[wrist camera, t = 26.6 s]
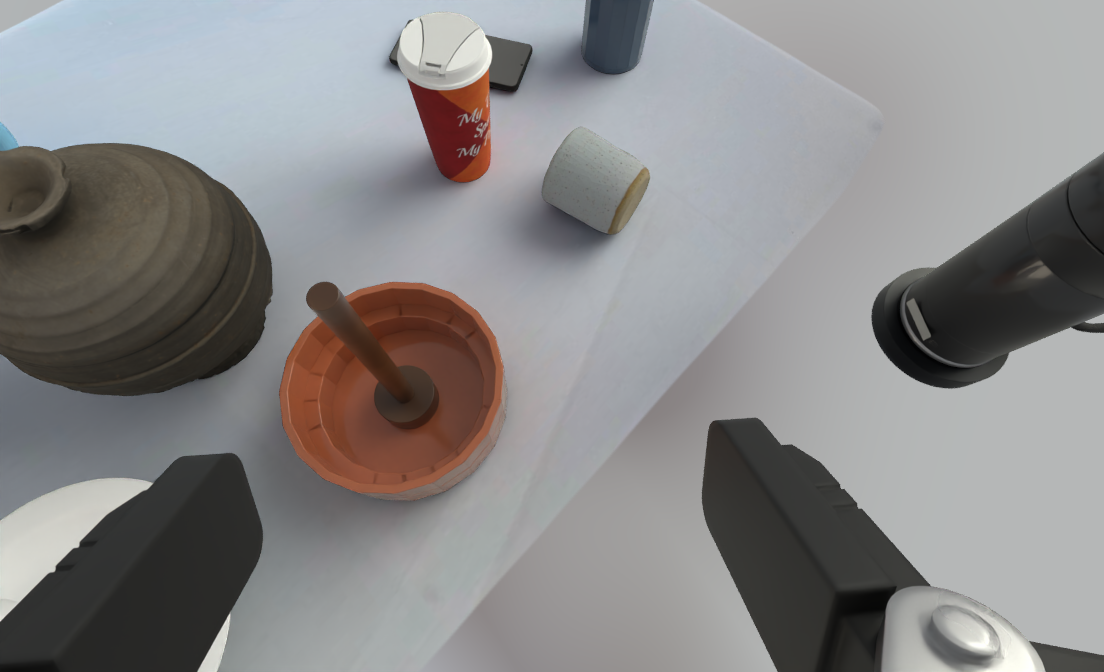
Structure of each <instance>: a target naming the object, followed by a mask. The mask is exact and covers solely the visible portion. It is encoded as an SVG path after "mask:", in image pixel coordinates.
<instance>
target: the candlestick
mask: <svg viewBox="0 0 1104 672" xmlns="http://www.w3.org/2000/svg"><path fill="white" fill-rule="evenodd" d="M152 484H153V483H151V482H148V481H143V480H138V479H130V478H103V479H95V480H89V481H84V482H79V483H75V484H72V485H68V486H65V487H62V488H59V489H57V490H54V491H52V492H49V493H47V494H44V495H42V496H40V497H38V498H36V499H34V500H32V501H30V502H28V503H27V504H25V505H23V506H21V507H20V508H18V509H17V510H15V511H13V512H12V513H10V514H9V515H7V516H6V517H5V518H3V519H2V520H0V621H1V620H2V619H3V618H4V617H5V616H6V615H7V614H8V613H9V612H10V611H11V610H12V609H13V608H14V607H15V606H16V605H17V604H18V603H19V602H20V601H21V600H22V599H23V598H24V597H25V596H26V595H27V594H28V593H29V592H30V591H31V590H32V589H33V588H34V587H35V586H36V585H37V584H38V583H39V582H40V581H41V580H42V579H43V578H44V577H45V576H46V575H47V574H48V573H50V572H54V571H55V569H56V567H55V566H56V565H57V564H58V563H59V562H60V561H61V560H62V559H63V558H64V557H65V556H66V555H67V554H68V553H69V552H70V551H71V550H72V549H73V548H78V547H79V542H80V541H81V540H82V539H83V538H84V537H85V536H86V535H87V534H88V533H89V532H90V531H91V530H92V529H93V528H94V527H95V526H96V525H97V524H98V523H99V522H100V521H101V520H102V519H103V518H104V517H105V516H106V515H107V514H108V513H110V512H111V511H113V510H114V509H116V508H117V507H119V506H121V505H122V504H124V503H125V502H127V501H128V500H130V499H131V498H133V497H134V496H136V495H137V494H139V493H140V492H142V491H143V490H147V489H148V488H149V487H150V486H151V485H152ZM230 616H231V612H230V614H229V615H228V617H227V619H226V621H225V623H224V624H223V626H222V628H221V630H220V632H219V633H218V635H217V637H216V639H215V641H214V642H213V644H212V646H211V648H210V650H209V651H208V653H207V655H206V657H205V659H204V661H203V662H202V664H201V666H200V668H199V670H198V671H197V672H217V670H218V668H219V665H220V662H221V659H222V656H223V652H224V649H225V645H226V641H227V636H228V631H229V624H230Z"/></svg>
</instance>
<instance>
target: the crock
mask: <svg viewBox="0 0 1104 672" xmlns="http://www.w3.org/2000/svg"><path fill="white" fill-rule="evenodd" d="M653 2H654V0H586V5H585V16H584V26H583V36H582V46H581V52H582V56H583V58H584V60H585V61H586V63H587V64H588V65H589V66H591V67H592V68H594V69H595V70H597V71H600V72H603V73H608V74H619V73H624V72H627V71H629V70H631V69H632V68H634V67H635V66H636V65H637V64H638V63H639V61H640V58H641V55H642V52H643V47H644V43H645V38H646V34H647V29H648V25H649V20H650V16H651V11H652V6H653Z"/></svg>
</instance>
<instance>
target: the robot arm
mask: <svg viewBox="0 0 1104 672" xmlns="http://www.w3.org/2000/svg"><path fill="white" fill-rule="evenodd" d="M1102 314H1104V153H1102V154H1101V155H1100V156H1098V157H1097V158H1096V159H1094V160H1092V161H1091V162H1089V163H1088V164H1086V165H1085V166H1084V167H1082V168H1081V169H1079V170H1078V171H1077V172H1075V173H1074V174H1072V175H1071V176H1069V177H1068V178H1066V179H1065V180H1064V181H1062V182H1061V183H1059V184H1058V185H1056V186H1055V187H1053V188H1052V189H1051V190H1049V191H1048V192H1046V193H1045V194H1043V195H1042V196H1041V197H1039V198H1038V199H1036V200H1035V201H1033V202H1032V203H1031V204H1029V205H1028V206H1026V207H1025V208H1023V209H1022V210H1020V211H1019V212H1018V213H1016V214H1015V215H1013V216H1012V217H1011V218H1009V219H1007V220H1006V221H1005V222H1003V223H1002V224H1000V225H999V226H997V227H996V228H994V229H993V230H991V231H990V232H988V233H987V234H986V235H984V236H983V237H981V238H980V239H978V240H977V241H975V242H974V243H973V244H971V245H970V246H968V247H967V248H965V249H964V250H962V251H961V252H959V253H958V254H957V255H955V256H954V257H952V258H951V259H949V260H948V261H946V262H945V263H943V264H942V265H940V266H939V267H937V268H936V269H934V270H933V271H932V272H930V273H929V274H927V275H926V276H924V277H922V278H920V279H918V280H917V281H915V282H914V283H912V284H911V285H910V286H908V287H907V288H906V289H905V290H904V292H903V293H902V295H901V296H900V299H899V302H898V319H899V323H900V326H901V328H902V331H903V332H904V334H905V336H906V338H907V339H908V340H909V342H910V343H911V344H912V345H913V346H914V347H915V348H916V349H917V350H918V351H919V352H920V353H921V354H922V355H924V356H925V357H927V358H928V359H930V360H932V361H933V362H935V363H938V364H940V365H943V366H946V367H950V368H955V369H969V368H974V367H977V366H980V365H982V364H985V363H987V362H989V361H991V360H992V359H994V358H996V357H999V356H1001V355H1004V354H1006V353H1008V352H1011V351H1014V350H1016V349H1019V348H1021V347H1024V346H1026V345H1028V344H1031V343H1033V342H1036V341H1038V340H1041V339H1043V338H1046V337H1048V336H1050V335H1053V334H1055V333H1058V332H1060V331H1063V330H1065V329H1068V328H1070V327H1071V328H1073V329H1075V330H1078V331H1082V332H1090V333H1104V323H1098V324H1092V323H1086V322H1085V321H1087V320H1089V319H1092V318H1094V317H1097V316H1099V315H1102ZM702 504H703V510H704V516H705V520H706V523H707V526H708V528H709V531H710V533H711V535H712V537H713V539H714V541H715V543H716V545H717V547H718V549H719V551H720V553H721V556H722V557H723V560H724V562H725V564H726V566H727V568H728V570H729V572H730V574H731V576H732V578H733V580H734V582H735V584H736V587H737V588H738V591H739V592H740V594H741V597H742V599H743V601H744V603H745V605H746V607H747V609H748V611H749V613H750V616H751V618H752V619H753V622H754V624H755V626H756V628H757V630H758V632H759V634H760V636H761V638H762V640H763V642H764V644H765V646H766V649H767V651H768V652H769V654H770V657H771V659H772V661H773V663H774V665H775V667H776V669H777V671H778V672H1104V655H1098V654H1093V653H1088V652H1083V651H1078V650H1072V649H1067V648H1061V647H1057V646H1051V645H1046V644H1041V643H1036V642H1031V641H1028V640H1027V639H1026V638H1025V637H1024V636H1023V635H1022V634H1021V632H1020V631H1019V630H1018V629H1016V628H1015V627H1014V626H1013V625H1012V624H1011V623H1010V622H1008V621H1007V620H1006V619H1004V618H1003V617H1002V616H1000V615H999V614H997V613H996V612H994V611H993V610H991V609H990V608H988V607H986V606H985V605H983V604H981V603H979V602H977V601H975V600H973V599H971V598H969V597H967V596H964V595H962V594H959V593H956V592H953V591H950V590H947V589H942V588H937V587H931V586H930V584H929V583H928V582H927V581H926V580H925V579H924V578H923V577H922V575H920V573H919V572H918V571H917V570H916V569H915V568H914V567H913V565H912V564H911V563H910V562H909V561H908V560H907V559H906V558H905V557H904V555H903V554H902V553H901V552H900V551H899V550H898V549H897V548H896V546H895V545H894V544H893V543H892V542H891V541H890V540H889V539H888V537H887V536H886V535H885V534H884V533H883V532H882V531H881V530H880V529H879V527H877V525H876V524H875V523H874V522H873V521H872V520H871V518H870V517H869V516H868V515H867V514H866V513H865V512H864V511H863V510H862V509H858V507H857V503H856V502H855V501H854V500H853V498H852V497H851V496H850V495H849V494H848V493H847V492H846V491H845V489H841V488H840V484H839V483H838V482H837V480H836V479H835V478H834V477H833V476H832V475H831V474H830V473H829V472H828V471H827V469H826V468H825V467H824V466H823V465H822V464H821V463H820V462H819V461H817V460H816V459H814V458H812V457H811V456H809V455H808V454H806V453H805V452H803V451H801V450H800V449H798V448H797V447H795V446H793V445H781V444H780V443H779V442H778V441H777V439H776V438H775V437H774V436H773V435H772V433H771V432H770V431H769V430H768V429H767V427H766V426H765V425H764V424H763V422H762V421H761V420H759V419H758V418H746V419H731V420H716V421H713V422H712V423H711V424H710V426H709V431H708V438H707V448H706V458H705V467H704V477H703V488H702ZM262 543H263V530H262V524H261V521H260V518H259V515H258V512H257V508H256V505H255V502H254V499H253V496H252V493H251V490H250V487H249V483H248V480H247V477H246V474H245V471H244V468H243V465H242V462H241V460H240V459H239V458H238V456H236V455H235V454H233V453H224V454H210V455H195V456H183V457H180V458H178V459H176V460H175V461H174V462H173V463H172V464H171V465H170V466H169V467H168V468H167V469H166V470H165V471H164V473H163V474H162V475H161V476H160V477H159V478H158V479H157V480H156V481H155V482H154V483H153V484H152V485H151V486H150V487H149V488H148V489H147V490H143V491H142V492H140V493H139V494H137V495H136V496H134V497H133V498H131V499H130V500H128V501H127V502H125V503H124V504H122V505H121V506H119V507H117V508H116V509H114V510H113V511H111V512H110V513H108V514H107V515H106V516H105V517H104V518H103V519H102V520H101V521H100V522H99V523H98V524H97V525H96V526H95V527H94V528H93V529H92V530H91V531H90V532H89V533H88V534H87V535H86V536H85V537H84V538H83V539H82V540H81V541H80V542H79V547H78V548H73V549H72V550H71V551H70V552H69V553H68V554H67V555H66V556H65V557H64V558H63V559H62V560H61V561H60V562H59V563H58V564H57V565H56V566H55V567H56V569H55V571H54V572H50V573H48V574H47V575H46V576H45V577H44V578H43V579H42V580H41V581H40V582H39V583H38V584H37V585H36V586H35V587H34V588H33V589H32V590H31V591H30V592H29V593H28V594H27V595H26V596H25V597H24V598H23V599H22V600H21V601H20V602H19V603H18V604H17V605H16V606H15V607H14V608H13V609H12V610H11V611H10V612H9V613H8V614H7V615H6V616H5V617H4V618H3V619H2V620H1V621H0V672H197V671H198V670H199V668H200V666H201V664H202V662H203V661H204V659H205V657H206V655H207V653H208V651H209V650H210V648H211V646H212V644H213V642H214V641H215V639H216V637H217V635H218V633H219V632H220V630H221V628H222V626H223V624H224V623H225V621H226V619H227V617H228V615H229V614H230V612H231V610H232V608H233V606H234V605H235V603H236V601H237V599H238V597H239V596H240V594H241V592H242V590H243V588H244V587H245V585H246V583H247V581H248V579H249V578H250V576H251V574H252V572H253V570H254V569H255V567H256V565H257V563H258V560H259V557H260V554H261V550H262Z"/></svg>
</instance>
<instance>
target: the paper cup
mask: <svg viewBox="0 0 1104 672" xmlns="http://www.w3.org/2000/svg"><path fill="white" fill-rule="evenodd" d="M491 60H492V49H491V45H490V43H489V41H488V40H487V38H486V37H485V35H484V33H483V30H482V29H481V28H480V27H479V26H478V25H477V24H476V23H475V22H474V21H472V20H471V19H470V18H468V17H466V16H464V15H461V14H457V13H452V12H434V13H430V14H426V15H423V16H420V19H419V17H418V18H416V19H414V20H413V21H411V22H410V23H409V24H408V25H407V26H406V27H405V29H404V30H403V32H402V34H401V37H400V42H399V48H398V52H397V61H398V65H399V68H400V69H401V71H402V73H403V74H404V75H405V76H406V77H407V80H408V83H409V86H410V89H411V92H412V95H413V98H414V100H415V103H416V106H417V109H418V112H419V115H420V118H421V121H422V124H423V127H424V130H425V133H426V136H427V139H428V142H429V145H430V147H431V150H432V153H433V156H434V159H435V161H436V164H437V166H438V168H439V170H440V172H441V173H442V174H443V175H444V176H445V177H446V178H448V179H450V180H453V181H456V182H469V181H473V180H476V179H478V178H480V177H481V176H482V175H483V174H484V173H485V172H486V171H487V170H488V168H489V165H490V156H491V142H490V97H489V66H490V64H491Z"/></svg>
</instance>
